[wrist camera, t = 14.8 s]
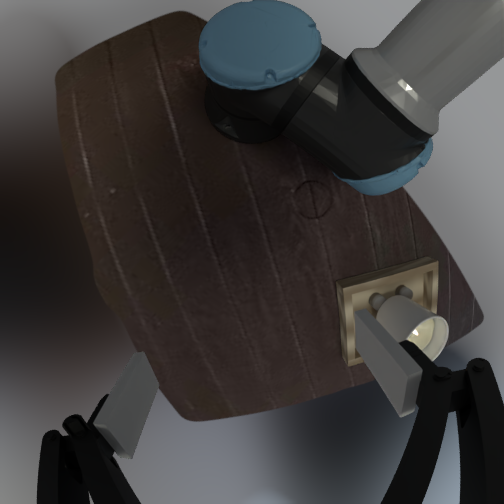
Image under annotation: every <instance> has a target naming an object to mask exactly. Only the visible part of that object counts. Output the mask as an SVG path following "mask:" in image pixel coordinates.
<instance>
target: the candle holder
mask: <svg viewBox="0 0 504 504" xmlns="http://www.w3.org/2000/svg"><path fill="white" fill-rule="evenodd" d="M376 320H377V321H378V322H379V323H380V324H381V325H382V326H383V327H384V328H385V329H386V330H387V331H388V332H389V334H390V335H391V336H392V337H393V338H394V339H395V340H396V341H397V342H398V343H399V342H402V341H404V340H408V341H410V342H413V343H415V344H416V345H417V346H418V347H419V349H421V350H422V351H423V353H425V354H426V355H427V357H428V358H429V359H430V360H431V361H433V360H435V359H436V357H437V356H438V355H439V354H440V353H441V351H442V350H443V348H444V346H445V344H446V341H447V338H448V332H449V329H448V324H447V322H446V320H445V319H444V318H442V317H440V316H438V315H436V314H435V313H433V312H431V311H430V310H428V309H427V308H425V307H423V306H422V305H420V304H418V303H416V302H415V301H413V300H411V299H410V298H408V297H406V296H403V295H395V296H392V297H390V298H389V299H387V300H386V301H385V302H384V303H383V304H382V305H381V307H380V308H379V310H378V313H377V316H376Z"/></svg>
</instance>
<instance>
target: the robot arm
mask: <svg viewBox="0 0 504 504" xmlns="http://www.w3.org/2000/svg"><path fill="white" fill-rule="evenodd" d="M199 52H200V55H199V58H200V66H201V68H202V70H203V71H204V73H205V76H206V78H207V81H208V85H207V88H206V92H205V109H206V112H207V115H208V117H209V119H210V121H211V123H212V124H213V126H214V127H215V128H216V129H217V130H218V131H219V132H220V133H221V134H223V135H224V136H226V137H227V138H229V139H232V140H234V141H237V142H241V143H249V144H254V143H262V142H266V141H269V140H271V139H274V138H275V137H277V136H279V135H280V134H283V135H284V136H285V137H287V138H288V139H290V140H291V141H293V142H294V143H295V144H297V145H298V146H299V147H301V148H302V149H304V150H305V151H306V152H308V153H309V154H310V155H312V156H313V157H314V158H316V159H317V160H318V161H320V162H321V163H322V164H324V165H325V166H326V167H327V168H329V169H330V170H331V171H332V172H333V174H334V175H335V176H336V177H337V178H338V179H341V180H342V181H345V182H347V183H348V184H349V185H351V186H352V187H353V188H355V189H356V190H357V191H359V192H361V193H363V194H366V195H382V194H386V193H389V192H392V191H394V190H396V189H398V188H400V187H402V186H403V185H405V184H406V183H408V182H409V181H410V180H412V179H413V178H414V177H415V176H416V175H417V174H418V169H419V168H421V167H424V166H425V165H426V163H427V162H428V160H429V158H430V156H431V153H432V150H433V142H432V139H431V137H432V136H433V135H434V134H436V133H437V131H438V125H439V122H438V121H439V112H440V110H441V109H442V108H443V107H444V106H445V105H447V104H448V103H449V102H450V101H452V100H453V99H454V98H455V97H456V96H458V95H459V94H460V93H461V92H462V91H464V90H465V89H466V88H467V87H468V86H470V85H471V84H472V83H473V82H474V81H475V80H477V79H478V78H479V77H480V76H482V75H483V74H484V73H485V72H486V71H488V70H489V69H490V68H491V67H492V66H493V65H495V64H496V63H497V62H498V61H500V59H502V58H503V57H504V0H421V1H420V2H419V3H418V4H417V5H416V6H415V7H414V8H413V9H412V10H411V12H410V13H408V15H407V16H406V17H405V18H404V19H403V20H402V21H401V22H400V23H399V24H398V25H397V26H396V27H395V28H394V30H392V32H391V33H390V34H389V35H388V36H387V37H386V38H385V39H384V40H383V41H382V42H381V44H380V45H379V46H377V47H375V48H357V49H354V50H353V51H352V53H351V54H350V55H349V56H348V57H347V59H346V60H345V59H344V58H342V57H341V56H339V55H338V54H336V53H335V52H334V51H332V50H331V49H329V48H328V47H326V46H324V45H323V44H322V43H321V36H320V32H319V31H318V30H317V29H316V24H315V22H314V21H313V20H312V18H311V17H309V15H307V14H306V13H305V12H304V11H302V10H301V9H299V8H297V7H295V6H293V5H291V4H288V3H285V2H281V1H277V0H253V1H250V2H239V3H236V4H233V5H231V6H229V7H226V8H224V9H223V10H221V11H220V12H218V13H217V14H215V15H214V16H213V17H212V18H211V19H210V20H209V21H208V23H207V24H206V25H205V27H204V29H203V31H202V33H201V36H200V39H199ZM354 318H355V337H356V350H357V351H358V353H359V354H360V356H361V357H362V359H363V360H364V362H365V363H366V365H367V366H368V368H369V369H370V371H371V372H372V374H373V375H374V377H375V378H376V380H377V382H378V383H379V385H380V386H381V387H382V389H383V391H384V392H385V394H386V395H387V397H388V399H389V400H390V402H391V403H392V405H393V406H394V408H395V410H396V411H397V413H398V415H399V416H400V417H403V416H405V415H407V414H410V413H412V412H414V410H415V405H416V404H417V406H418V407H419V410H418V413H417V417H416V420H415V423H414V426H413V429H412V432H411V435H410V438H409V441H408V443H407V446H406V449H405V451H404V454H403V456H402V459H401V461H400V464H399V466H398V468H397V471H396V473H395V475H394V478H393V480H392V482H391V484H390V486H389V488H388V490H387V492H386V494H385V496H384V498H383V500H382V502H381V504H422V502H423V499H424V497H425V494H426V492H427V489H428V486H429V483H430V481H431V478H432V474H433V472H434V469H435V465H436V462H437V459H438V455H439V452H440V448H441V444H442V440H443V436H444V432H445V427H446V422H447V417H448V413H449V412H454V411H456V416H457V425H458V434H459V448H460V477H461V478H460V504H504V404H503V401H502V397H501V394H500V391H499V388H498V385H497V382H496V379H495V376H494V373H493V370H492V368H491V365H490V363H489V362H488V361H487V360H485V359H482V358H475V359H472V360H471V361H469V362H468V364H467V367H466V369H464V370H459V371H454V372H452V371H451V370H450V369H448V368H446V367H437V366H436V365H435V364H434V363H433V362H432V361H431V360H430V359H429V358H428V357H427V355H426V354H425V353H423V351H422V350H421V349H419V347H418V346H417V345H416V344H415V343H413V342H410V341H408V340H404V341H402V342H399V343H398V342H397V341H396V340H395V339H394V338H393V337H392V336H391V335H390V334H389V332H388V331H387V330H386V329H385V328H384V327H383V326H382V325H381V324H380V323H379V322H378V321H377V320H376V319H375V318H374V317H373V316H372V315H371V314H370V313H369V312H368V310H367V309H366V308H365V309H362V310H358V311H355V312H354ZM158 387H159V383H158V381H157V379H156V377H155V375H154V372H153V370H152V368H151V366H150V364H149V362H148V359H147V357H146V355H145V353H144V352H139V353H134V354H133V356H132V357H131V359H130V361H129V362H128V364H127V365H126V367H125V369H124V370H123V372H122V374H121V376H120V377H119V379H118V381H117V382H116V384H115V386H114V387H113V389H112V391H111V392H110V394H106V395H105V396H104V397H103V398H102V399H101V400H100V402H99V403H98V406H97V407H96V408H95V411H94V412H93V413H92V415H91V417H90V419H89V420H88V422H87V423H86V422H85V421H84V419H83V418H82V416H81V415H78V414H74V415H71V416H69V417H67V418H66V419H65V420H64V422H63V424H62V426H63V428H64V429H65V431H66V432H67V433H68V436H62V435H61V434H60V433H59V431H57V430H50V431H48V432H47V433H45V435H44V436H43V439H42V445H41V452H40V460H39V470H38V483H37V504H90V500H89V493H90V495H91V498H92V500H93V502H94V504H141V503H140V501H139V500H138V498H137V497H136V495H135V493H134V492H133V490H132V488H131V487H130V485H129V483H128V482H127V480H126V478H125V477H124V474H123V473H122V471H121V469H120V467H119V465H118V463H117V461H116V460H115V458H114V457H113V454H114V451H115V452H116V453H117V455H118V456H119V457H120V458H128V459H132V458H133V455H134V452H135V449H136V446H137V444H138V441H139V438H140V435H141V433H142V430H143V427H144V424H145V422H146V419H147V416H148V413H149V411H150V408H151V406H152V403H153V400H154V398H155V395H156V393H157V390H158Z"/></svg>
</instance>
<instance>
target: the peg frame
mask: <svg viewBox="0 0 504 504" xmlns="http://www.w3.org/2000/svg"><path fill="white" fill-rule="evenodd" d="M336 288H337V297H338V307H339V318H340V330H341V345H342V357H343V358H344V360H345V362H346V364H347V365H348V367H349V366H352V365H356V364H359V363H362V362H364V360H363V359H362V357H361V356H360V354H359V353H358V351H357V350H356V337H355V318H354V312H355V311H358V310H362V309H365V308H366V309H367V310H368V312H369V313H370V314H371V315H372V316H373V317H374V318H375V319H376V316H377V313H378V310H379V308H380V307H381V305H382V304H383V303H384V302H385V301H386V300H387V299H389V298H390V297H392V296H395V295H403V296H406V297H408V298H410V299H411V300H413V301H415V302H416V303H418V304H420V305H422V306H423V307H425V308H427V309H428V310H430V311H431V312H433V313H435V314H436V311H437V295H438V261H437V260H435V259H432V258H430V257H428V256H426V257H423V258H420V259H416V260H413V261H409V262H406V263H402V264H399V265H395V266H391V267H388V268H384V269H380V270H377V271H373V272H369V273H365V274H361V275H358V276H354V277H350V278H346V279H342V280H338V281H336Z"/></svg>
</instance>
